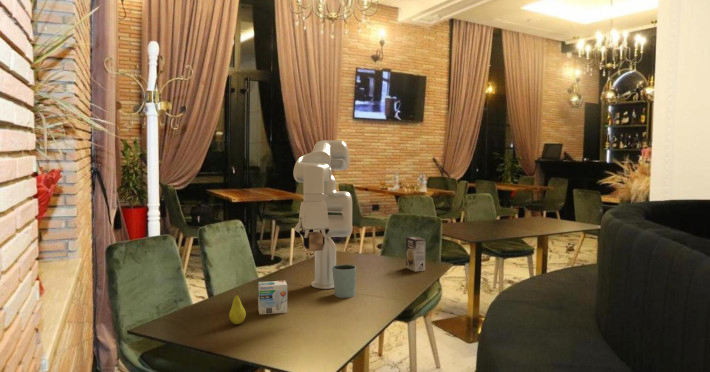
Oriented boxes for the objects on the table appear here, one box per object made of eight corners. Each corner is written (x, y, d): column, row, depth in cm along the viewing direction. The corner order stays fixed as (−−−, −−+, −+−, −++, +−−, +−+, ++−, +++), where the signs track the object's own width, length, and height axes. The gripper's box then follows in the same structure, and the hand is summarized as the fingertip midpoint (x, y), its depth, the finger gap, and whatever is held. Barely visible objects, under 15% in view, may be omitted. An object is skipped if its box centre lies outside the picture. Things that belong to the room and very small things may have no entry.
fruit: (238, 319, 184) (238, 287, 183) (249, 323, 180) (249, 289, 179) (225, 324, 179) (225, 290, 178) (236, 327, 176) (235, 293, 175)
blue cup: (353, 299, 210) (353, 270, 209) (329, 297, 212) (329, 268, 211) (358, 292, 219) (358, 264, 219) (335, 290, 222) (335, 263, 221)
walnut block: (318, 247, 192) (318, 231, 191) (322, 250, 187) (322, 233, 187) (305, 248, 190) (305, 232, 189) (309, 251, 185) (309, 234, 185)
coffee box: (405, 267, 264) (405, 236, 263) (416, 266, 267) (416, 236, 266) (414, 271, 256) (415, 239, 255) (425, 270, 259) (426, 238, 258)
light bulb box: (259, 315, 189) (258, 286, 189) (257, 309, 196) (257, 281, 195) (288, 312, 192) (288, 284, 191) (285, 307, 199) (285, 279, 198)
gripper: (331, 196, 194) (331, 244, 195) (288, 198, 187) (288, 247, 188) (339, 198, 187) (339, 247, 188) (294, 200, 180) (294, 251, 182)
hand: (314, 247), depth 188 cm, fingers closed on walnut block, 5 cm apart
